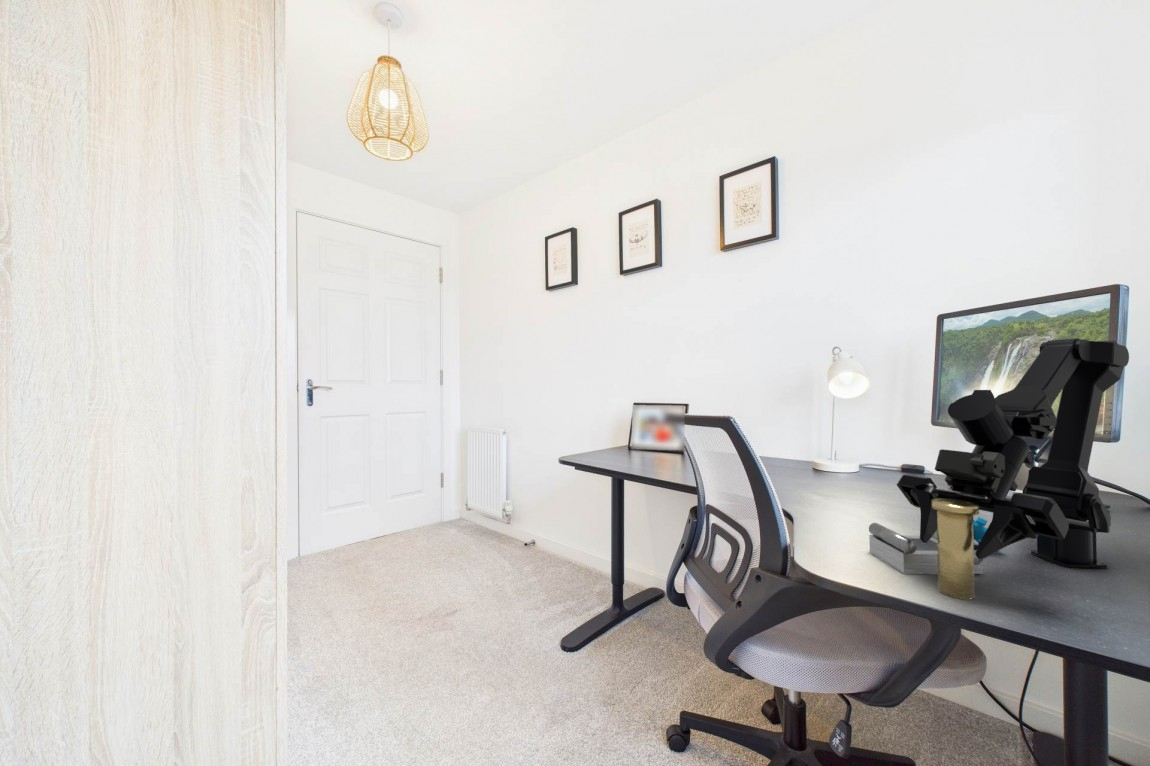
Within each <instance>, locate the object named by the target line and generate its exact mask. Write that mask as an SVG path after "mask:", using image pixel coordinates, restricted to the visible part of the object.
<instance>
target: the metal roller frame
mask: <svg viewBox="0 0 1150 766" xmlns="http://www.w3.org/2000/svg"><path fill="white" fill-rule="evenodd" d="M868 531H869V533H870V534H869V554H871V555H872V556H874V557H876V558H877V559H879V560H880V561H882V562H884V564H887V565H888V566H890V567H891V568H893V569H895V570H897V571H898V572H900V573H901V574H903V575H916V574H915V573H928V574H927V575H938V552H937V533H934V535H933V536H932V537H931V539H929V540H928V541H927V542H926V543H924V542H922V541H921V539H920V535H904V534H903V535H901V534H900V533H898V532H896V531H894V530H891V529H890V528H887V527H885V526H884V525H881V524H879V523H878V522H873V523H870V524H869V526H868ZM976 550H977V549H976ZM976 550H975V549H974V574H984V571H983V570H984V569H983V568H984V567H983V564H982V563H983V560H984V558H983V559H979V558H977V556H976V554H975V553H976Z"/></svg>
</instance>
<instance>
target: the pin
mask: <svg viewBox="0 0 1150 766" xmlns="http://www.w3.org/2000/svg"><path fill="white" fill-rule="evenodd" d="M932 508H933V509H935V510H937V552H938V574H937V590H938V592H939V593H941V594H943V595H945V596H947V597H951V598H954V599H958V598H960V599H959V600H964V599H970V598H974V599H975V575H974V550H975V546H974V545H975V544H974V543H975V540H974V531H973V520H974V516H976V515H979V514H980V510H979V505H977V504H974V503H971V502H967V501H962V500H955V499H941V498H940V499H932Z"/></svg>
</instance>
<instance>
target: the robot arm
mask: <svg viewBox="0 0 1150 766" xmlns="http://www.w3.org/2000/svg"><path fill="white" fill-rule="evenodd" d="M1038 351H1039V353H1038V355H1037V356H1036V357H1035V359H1034V360H1033V362H1032V363H1031V364H1030V366H1028V369H1027V370H1026V372H1024V374H1023V376H1022V377H1021V378H1020V380H1019V382H1017V384H1016V386H1015V387H1014V388H1013V389H1010V390H1009V391H1005V392H1004V393H1001V394H999V395H997V396H996V397H995V396H994V393H993V392H992V390H991V389H973V392H972V393H971V394H969V395H964V396H962V397H960V398H958V399H956V400H954V402H951V403H950V404H949V405H948V406H947V407H948V408H947V414H948V415H949V417H950V418H951V420H952V422H953V423H954V424H955V426H956V429H958V431H959V433H960V434H961V435H962V436H963V438H964V440H965V441H966V442H968V444H972V445H974V446H975V447H974V448H973V449H972V451H971V452H969V451H960V450H954V449H953V450H951V449H942V448H941V449H939V450H938V451H939V452H938V455H937V459H936V463H935V466H934V470H935V471H936V472H940V473H942V474H943V475H945V478H944V482H946V484H947V485H949V486H951V487H952V488H951V489H948V488H941V487H938V486H937V485H936V484H935V482H934V481H933V480H932V478H931V477H927V476H922V475H921V476H920V475H916V474H909V473H907V474H903V475H901V477H900V478H899V480H898V482H897V483H896V486H897V488H898V489H899V490H900V492H901V493H902V495H904V497H905V498H906V500H907V501H908V503H909V504H910V505H912V506H913V507H915V508H919V510H920V512H919V513H920V522H919V523H920V526H919V536H920V539H921V541H922V542H924V543H926V542H927V541H928V540H929V539H931V537H932V536H933V535H934V533H935V532H936V531H937V510H935V509H933V508H932V499H940V498H941V499H955V500H962V501H967V502H971V503H974V504H977V505H979V511H983V512H986V513H987V512H988V513H991V514H992V519H991V522H990V524H989V525H988V527H987V530H986V532H985V534H984V536H983V537H982V539H981V541H980V543H979V544H978V545H977V548H976V553H975V554H976V556H977V558H979V559H983V560H984V559H985V558H987V557H989V556H990V555H993V554H994V553H997V552H999V551H1000V550H1002V549H1004V548H1006V547H1008V546H1010V545H1012V544H1013V545H1014V544H1016V543H1018V542H1020V541H1023V540H1026V539H1033V540H1035V539H1036V549H1030V554H1032V555H1035V556H1038V557H1040V558H1043V559H1046V560H1048V561H1050V562H1053V563H1055V564H1058V565H1060V566H1063V567H1067V568H1095V569H1096V568H1098V569H1099V568H1107V569H1108V568H1109V565H1108V564H1107V563H1104V562H1101V561H1098V558H1097V557H1098V555H1097V552H1098V551H1097V548H1098V547H1097V534H1098V533H1104V534H1105V533H1106V534H1109V533H1110V532H1111V531H1110V528H1111V525H1112V522H1111V520H1112V517H1111V515H1110V513H1109V511H1108V509H1107V508H1106V506H1105V504H1104V503H1103V501H1102V500H1101V498H1100V496H1099V495H1100V494H1099V492H1100V490H1099V489H1100V488H1099V487H1098V486H1097V483H1095V481H1094V479H1093V478H1092V476H1091V475H1090V474H1089V465H1090V460H1091V456H1092V450H1093V445H1094V440H1095V434H1096V429H1097V425H1098V419H1099V416H1100V415H1099V414H1100V410H1101V404H1102V398H1103V394H1104V393H1105V392H1106V391H1107V390H1108V389H1110V388H1111V387H1112V386H1114V385H1115V384H1116V383H1117V382H1119V381H1120V380H1121V378H1122V374H1123V372H1124V367H1127V366H1128V364H1129V361H1130V353H1129V350H1128V348H1127V346H1125V345H1122V344H1119V343H1118V342H1117V341H1116V340H1103V341H1102V340H1101V341H1100V340H1099V341H1098V340H1097V341H1095V340H1094V341H1093V340H1088V339H1085V338H1084V339H1081V338H1079V337H1077V338H1063V339H1061V338H1059V339H1049V340H1047V341H1044V342H1042V343H1041V344H1040V346H1039V350H1038ZM1059 395H1060V398H1059V403H1058V408H1057V414H1055V411H1054V410H1053V408H1052V407H1053V405H1054V402H1055V401H1056V399H1057V398H1058V396H1059ZM1051 433H1052V437H1051V441H1050V447H1049V450H1048V451H1049V452H1048V455H1047V460H1046V461H1045V462H1044V463H1043V464H1041V465H1040V466H1034V465H1033V466H1032V467H1031V468H1029V470H1028V475H1027V480H1026V483H1025V486H1024V487H1023V488H1022V492H1016V491H1017V489H1018V487H1019V486H1018V484H1017V483H1016V481H1015V480H1016V478H1017V476H1018V474H1019V472H1020V470H1021V468H1022V466H1023V464H1025V465H1026V464H1027V465H1031V464H1032V463H1033V460H1032V456H1031V454H1030V446H1029V445H1028V444H1027V442H1026V440H1025V439H1028V440H1045V439H1046V438H1047V437H1048V436H1049V435H1050V434H1051ZM1010 491H1011V492H1015V493H1013V494H1012V496H1011V498H1010V501H1009V500H1006V498H1007V497H1008V494H1009V492H1010Z"/></svg>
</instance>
